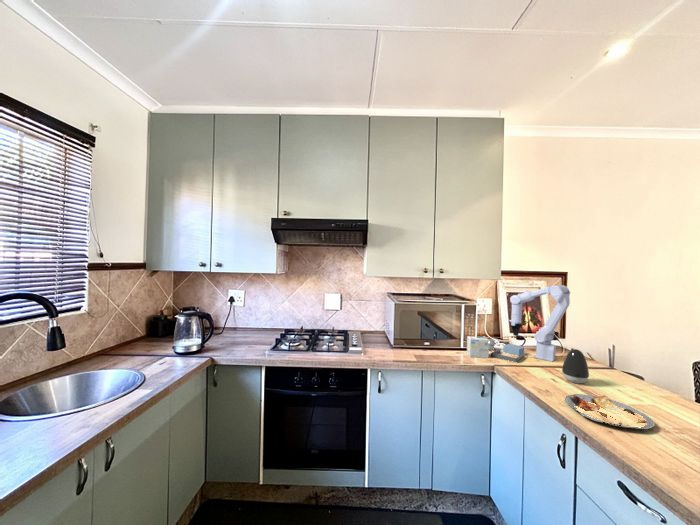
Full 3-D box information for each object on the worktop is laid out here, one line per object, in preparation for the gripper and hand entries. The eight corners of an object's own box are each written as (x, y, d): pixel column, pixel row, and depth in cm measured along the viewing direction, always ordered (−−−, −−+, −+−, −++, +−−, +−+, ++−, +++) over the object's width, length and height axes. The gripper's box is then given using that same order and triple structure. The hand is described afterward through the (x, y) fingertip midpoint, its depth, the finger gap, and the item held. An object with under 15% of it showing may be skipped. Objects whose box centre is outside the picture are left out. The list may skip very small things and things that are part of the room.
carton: (524, 354, 188) (524, 347, 188) (518, 356, 182) (519, 349, 182) (508, 350, 194) (508, 343, 194) (503, 353, 189) (503, 345, 189)
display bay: (524, 357, 180) (524, 354, 180) (517, 362, 170) (517, 359, 170) (498, 352, 189) (498, 348, 189) (490, 356, 180) (490, 353, 180)
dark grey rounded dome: (583, 379, 148) (584, 347, 148) (592, 387, 138) (593, 353, 138) (558, 375, 152) (559, 345, 152) (565, 383, 142) (567, 350, 142)
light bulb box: (484, 354, 183) (485, 336, 183) (488, 358, 177) (489, 339, 177) (466, 353, 184) (466, 335, 184) (469, 357, 177) (470, 338, 177)
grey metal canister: (495, 349, 196) (495, 340, 196) (492, 351, 192) (493, 341, 192) (487, 347, 199) (487, 338, 199) (484, 349, 195) (484, 339, 195)
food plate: (553, 396, 127) (553, 388, 127) (614, 401, 125) (614, 393, 124) (594, 431, 102) (595, 421, 102) (672, 438, 100) (672, 428, 100)
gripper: (512, 312, 203) (512, 332, 203) (506, 314, 192) (505, 336, 192) (524, 313, 198) (524, 334, 198) (518, 316, 187) (517, 338, 187)
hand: (515, 335), depth 195 cm, fingers closed
